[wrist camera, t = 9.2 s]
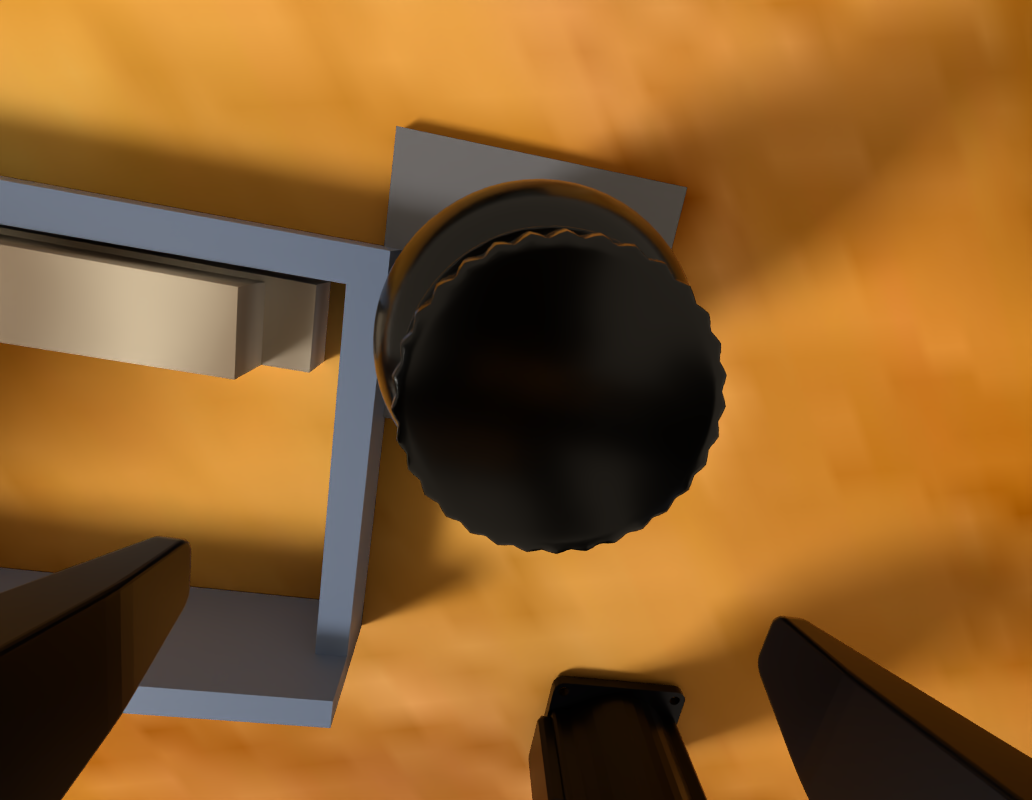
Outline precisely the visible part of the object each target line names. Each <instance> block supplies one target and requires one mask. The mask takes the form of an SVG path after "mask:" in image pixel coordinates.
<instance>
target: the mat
mask: <svg viewBox="0 0 1032 800" xmlns="http://www.w3.org/2000/svg"><path fill="white" fill-rule="evenodd" d="M523 179H552V180H561V181H567V182H573V183H577V184H581V185H584V186H588V187H591V188H594V189H596V190H599V191H601V192H603V193H606V194H608V195H610V196H612V197H614V198H616V199H617V200H619V201H621V202H623V203H624V204H626V205H627V206H629V207H630V208H632V209H633V210H634V211H636V212H637V213H638V214H639V215H641V216H642V217H643V218H644V219H645V220H646V221H648V222H649V223H650V224H651V225H652V226H653V228H654V229H655V230H656V231H657V232H658V233H659V234H660V235H661V236H662V238H663V239H664V240H665V242H666V243H667V244H668V245H669V247H670V248H671V249H672V245H673V241H674V237H675V233H676V230H677V226H678V222H679V218H680V214H681V210H682V206H683V202H684V198H685V194H686V190H687V187H683V186H678V185H673V184H668V183H664V182H659V181H654V180H650V179H645V178H640V177H635V176H631V175H626V174H621V173H616V172H612V171H607V170H602V169H597V168H593V167H588V166H583V165H578V164H574V163H569V162H564V161H559V160H555V159H550V158H545V157H541V156H536V155H531V154H526V153H522V152H517V151H512V150H507V149H503V148H498V147H493V146H488V145H484V144H479V143H474V142H469V141H465V140H460V139H455V138H450V137H446V136H441V135H436V134H432V133H427V132H422V131H417V130H413V129H408V128H403V127H398V126H396V136H395V145H394V155H393V165H392V175H391V184H390V194H389V204H388V214H387V223H386V233H385V243H384V247H389V248H394V249H400V250H403V249H404V247H405V246H406V244H407V243H408V242H409V241H410V240H411V238H412V237H413V236H414V235H415V234H416V232H417V231H418V230H419V229H420V228H421V227H422V226H424V225H425V224H426V223H427V222H428V221H429V220H430V219H431V218H432V217H434V216H435V215H436V214H437V213H439V212H440V211H441V210H443V209H444V208H446V207H447V206H449V205H450V204H452V203H454V202H455V201H457V200H459V199H461V198H463V197H465V196H467V195H469V194H471V193H473V192H475V191H478V190H481V189H483V188H486V187H489V186H492V185H496V184H500V183H504V182H510V181H516V180H523ZM401 252H402V251H401ZM383 417H384V418H391V419H392V417H391V416H390V414H389V411H388V409H387V407H386V405H385V403H384V412H383Z"/></svg>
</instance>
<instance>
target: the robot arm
mask: <svg viewBox="0 0 1032 800" xmlns="http://www.w3.org/2000/svg"><path fill="white" fill-rule="evenodd" d="M190 570H191V547H190V543H189V542H188V541H187V540H185V539H179V538H171V537H163V536H156V537H152V538H150V539H147V540H144V541H141V542H139V543H136V544H133V545H130V546H128V547H125V548H122V549H119V550H117V551H114V552H111V553H108V554H106V555H103V556H100V557H97V558H95V559H92V560H89V561H86V562H84V563H81V564H78V565H75V566H72V567H70V568H67V569H64V570H61V571H59V572H56V573H53V574H50V575H48V576H45V577H42V578H39V579H37V580H34V581H31V582H28V583H26V584H23V585H20V586H17V587H15V588H12V589H9V590H6V591H4V592H1V593H0V800H62V798H63V797H64V795H65V794H66V793H67V791H68V790H69V788H70V787H71V786H72V784H73V783H74V781H75V780H76V779H77V777H78V776H79V774H80V773H81V772H82V770H83V769H84V767H85V766H86V765H87V763H88V762H89V760H90V759H91V758H92V756H93V755H94V753H95V752H96V751H97V749H98V748H99V746H100V745H101V744H102V742H103V741H104V739H105V738H106V737H107V735H108V734H109V732H110V731H111V729H112V728H113V726H114V725H115V723H116V722H117V721H118V719H119V718H120V716H121V715H122V713H123V712H124V710H125V708H126V707H127V705H128V703H129V702H130V700H131V698H132V697H133V695H134V693H135V692H136V690H137V688H138V687H139V685H140V683H141V681H142V680H143V678H144V676H145V674H146V673H147V671H148V669H149V667H150V666H151V664H152V662H153V661H154V659H155V657H156V655H157V654H158V652H159V650H160V648H161V647H162V645H163V643H164V642H165V640H166V638H167V636H168V635H169V633H170V631H171V629H172V628H173V626H174V624H175V623H176V621H177V619H178V617H179V616H180V614H181V612H182V610H183V609H184V607H185V605H186V602H187V600H188V596H189V592H190ZM758 668H759V673H760V676H761V679H762V682H763V684H764V687H765V690H766V692H767V695H768V698H769V700H770V703H771V706H772V708H773V711H774V714H775V716H776V719H777V722H778V724H779V727H780V730H781V732H782V735H783V738H784V740H785V743H786V746H787V748H788V751H789V754H790V756H791V759H792V761H793V764H794V766H795V769H796V771H797V774H798V776H799V779H800V781H801V783H802V785H803V788H804V790H805V792H806V794H807V796H808V798H809V800H1032V758H1030V757H1029V756H1027V755H1025V754H1024V753H1022V752H1021V751H1019V750H1017V749H1016V748H1014V747H1012V746H1011V745H1009V744H1007V743H1006V742H1004V741H1003V740H1001V739H999V738H998V737H996V736H994V735H993V734H991V733H989V732H988V731H986V730H985V729H983V728H981V727H980V726H978V725H976V724H975V723H973V722H971V721H970V720H968V719H967V718H965V717H963V716H962V715H960V714H958V713H957V712H955V711H953V710H952V709H950V708H949V707H947V706H945V705H944V704H942V703H940V702H939V701H937V700H935V699H934V698H932V697H931V696H929V695H927V694H926V693H924V692H922V691H921V690H919V689H917V688H916V687H914V686H912V685H911V684H909V683H908V682H906V681H904V680H903V679H901V678H899V677H898V676H896V675H894V674H893V673H891V672H890V671H888V670H886V669H885V668H883V667H881V666H880V665H878V664H876V663H875V662H873V661H872V660H870V659H868V658H867V657H865V656H863V655H862V654H860V653H858V652H857V651H855V650H854V649H852V648H850V647H849V646H847V645H845V644H844V643H842V642H840V641H839V640H837V639H836V638H834V637H832V636H831V635H829V634H827V633H826V632H824V631H822V630H821V629H819V628H818V627H816V626H814V625H813V624H811V623H809V622H808V621H806V620H804V619H801V618H793V617H785V616H779V617H777V618H775V619H774V620H773V622H772V623H771V626H770V628H769V631H768V633H767V636H766V639H765V641H764V644H763V646H762V649H761V651H760V654H759V658H758ZM562 687H566V688H564V689H561V688H562ZM684 702H685V698H684V695H683V693H682V691H681V689H680V688H679V687H677V686H671V685H659V684H648V683H637V682H625V681H614V680H603V679H591V678H580V677H569V676H560V677H558V678H556V679H555V680H554V681H553V683H552V687H551V691H550V695H549V699H548V703H547V707H546V711H545V715H544V716H541V717H540V718H539V719H538V721H537V725H536V729H535V733H534V737H533V741H532V745H531V749H530V753H529V768H530V778H531V788H532V799H533V800H707V798H706V796H705V793H704V791H703V788H702V786H701V783H700V781H699V779H698V776H697V774H696V771H695V769H694V766H693V764H692V762H691V759H690V757H689V754H688V752H687V749H686V747H685V745H684V742H683V740H682V737H681V735H680V732H679V730H678V727H677V722H678V719H679V716H680V713H681V710H682V708H683V705H684Z"/></svg>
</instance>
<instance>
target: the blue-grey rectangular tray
mask: <svg viewBox="0 0 1032 800" xmlns="http://www.w3.org/2000/svg"><path fill="white" fill-rule="evenodd" d="M0 224H2V225H8V226H13V227H19V228H25V229H31V230H37V231H42V232H48V233H54V234H60V235H65V236H71V237H77V238H83V239H89V240H94V241H100V242H106V243H112V244H118V245H123V246H129V247H135V248H141V249H146V250H152V251H158V252H164V253H170V254H175V255H181V256H187V257H193V258H199V259H204V260H210V261H216V262H222V263H228V264H233V265H239V266H245V267H251V268H256V269H262V270H268V271H274V272H280V273H285V274H291V275H297V276H303V277H309V278H314V279H320V280H326V281H332V282H337V283H343V284H346V292H345V304H344V316H343V328H342V340H341V352H340V363H339V375H338V387H337V399H336V411H335V423H334V435H333V446H332V458H331V470H330V482H329V494H328V506H327V518H326V529H325V541H324V553H323V565H322V577H321V589H320V600H318V599H308V598H298V597H288V596H278V595H268V594H258V593H249V592H239V591H229V590H219V589H209V588H199V587H190V592H189V596H188V600H187V602H186V605H185V607H184V609H183V610H182V612H181V614H180V616H179V617H178V619H177V621H176V623H175V624H174V626H173V628H172V629H171V631H170V633H169V635H168V636H167V638H166V640H165V642H164V643H163V645H162V647H161V648H160V650H159V652H158V654H157V655H156V657H155V659H154V661H153V662H152V664H151V666H150V667H149V669H148V671H147V673H146V674H145V676H144V678H143V680H142V681H141V683H140V685H139V687H138V688H137V690H136V692H135V693H134V695H133V697H132V698H131V700H130V702H129V703H128V705H127V707H126V708H125V710H124V712H123V713H129V714H143V715H157V716H171V717H185V718H199V719H213V720H227V721H241V722H255V723H269V724H283V725H297V726H311V727H325V728H330V727H331V724H332V721H333V718H334V714H335V711H336V708H337V704H338V701H339V698H340V695H341V691H342V688H343V685H344V682H345V678H346V675H347V672H348V668H349V665H350V662H351V659H352V655H353V652H354V649H355V645H356V642H357V639H358V636H359V632H360V629H361V625H362V616H363V607H364V598H365V589H366V581H367V572H368V563H369V554H370V545H371V536H372V528H373V519H374V510H375V501H376V492H377V484H378V475H379V466H380V457H381V448H382V440H383V431H384V422H385V418H384V417H383V412H384V403H385V402H384V400H383V397H382V394H381V391H380V388H379V384H378V380H377V375H376V371H375V363H374V355H373V332H374V321H375V316H376V310H377V305H378V302H379V298H380V295H381V291H382V289H383V286H384V284H385V281H386V279H387V276H388V274H389V272H390V270H391V268H392V266H393V264H394V263H395V261H396V259H397V258H398V256H399V255H400V253H401V251H402V250H400V249H394V248H389V247H384V246H382V245H376V244H371V243H365V242H360V241H354V240H349V239H343V238H338V237H332V236H327V235H322V234H316V233H311V232H305V231H300V230H294V229H289V228H283V227H278V226H272V225H267V224H261V223H256V222H250V221H245V220H240V219H234V218H229V217H223V216H218V215H212V214H207V213H201V212H196V211H190V210H185V209H179V208H174V207H168V206H163V205H158V204H152V203H147V202H141V201H136V200H130V199H125V198H119V197H114V196H108V195H103V194H97V193H92V192H87V191H81V190H76V189H70V188H65V187H59V186H54V185H48V184H43V183H37V182H32V181H26V180H21V179H15V178H10V177H5V176H0ZM50 574H53V573H50V572H40V571H30V570H20V569H10V568H0V593H1V592H4V591H6V590H9V589H12V588H15V587H17V586H20V585H23V584H26V583H28V582H31V581H34V580H37V579H39V578H42V577H45V576H48V575H50Z"/></svg>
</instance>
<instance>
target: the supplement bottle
mask: <svg viewBox="0 0 1032 800" xmlns="http://www.w3.org/2000/svg"><path fill="white" fill-rule="evenodd" d="M710 323H711V322H710V316H709V313H708V312H707V311H705V310H704V309H703V308H702V307H701V306H699V305H697V304H696V301H695V297H694V294H693V292H692V289H691V287H690V286H689V284H688V281H687V278H686V276H685V274H684V271H683V269H682V267H681V265H680V263H679V261H678V260H677V258H676V256H675V255H674V253H673V251H672V250H671V248H670V247H669V245H668V244H667V243H666V242H665V240H664V239H663V238H662V236H661V235H660V234H659V233H658V232H657V231H656V230H655V229H654V228H653V226H652V225H651V224H650V223H649V222H648V221H646V220H645V219H644V218H643V217H642V216H641V215H639V214H638V213H637V212H636V211H634V210H633V209H632V208H630V207H629V206H627V205H626V204H624V203H623V202H621V201H619V200H617V199H616V198H614V197H612V196H610V195H608V194H606V193H603V192H601V191H599V190H596V189H594V188H591V187H588V186H584V185H581V184H577V183H573V182H567V181H561V180H552V179H523V180H516V181H510V182H504V183H500V184H496V185H492V186H489V187H486V188H483V189H481V190H478V191H475V192H473V193H471V194H469V195H467V196H465V197H463V198H461V199H459V200H457V201H455V202H454V203H452V204H450V205H449V206H447V207H446V208H444V209H443V210H441V211H440V212H439V213H437V214H436V215H435V216H434V217H432V218H431V219H430V220H429V221H428V222H427V223H426V224H425V225H424V226H422V227H421V228H420V229H419V230H418V231H417V232H416V234H415V235H414V236H413V237H412V238H411V240H410V241H409V242H408V243H407V244H406V246H405V247H404V249H403V250H402V252H401V253H400V255H399V256H398V258H397V259H396V261H395V263H394V264H393V266H392V268H391V270H390V272H389V274H388V276H387V279H386V281H385V284H384V286H383V289H382V291H381V295H380V298H379V302H378V305H377V310H376V316H375V321H374V332H373V355H374V363H375V371H376V375H377V380H378V384H379V388H380V391H381V394H382V397H383V400H384V402H385V405H386V407H387V409H388V411H389V414H390V416H391V417H392V419H393V421H394V423H395V424H396V426H397V428H398V429H397V437H396V440H397V442H398V443H399V445H400V446H401V448H402V449H403V450H404V451H405V452H406V454H407V466H408V470H409V471H410V472H411V473H412V474H413V475H414V476H416V477H417V478H418V479H419V480H420V481H421V485H422V489H423V492H424V495H426V496H427V497H429V498H430V499H432V500H433V501H435V502H437V503H439V505H440V507H441V509H442V511H443V513H444V514H445V516H446V517H449V518H451V519H454V520H457V521H460V522H461V523H462V524H463V525H464V527H465V528H466V529H467V530H468V531H469V532H470V533H473V534H477V535H484V536H487V537H488V538H489V539H490V540H491V541H493V542H494V543H496V544H497V545H514V546H516V547H517V548H519V549H521V550H524V551H526V552H530V551H537V550H545V551H548V552H551V553H555V554H557V553H561V552H564V551H566V550H570V549H574V550H581V551H587V550H589V549H591V548H593V547H594V546H596V545H598V544H601V543H615V542H617V541H618V540H619V539H621V538H622V537H623V536H624V535H625V534H627V533H629V532H633V531H638V530H641V529H643V528H644V527H645V526H646V525H647V524H648V523H649V521H650V520H651V519H652V518H653V517H656V516H658V515H661V514H663V513H665V512H667V511H668V509H669V508H670V506H671V505H672V503H673V501H674V499H675V498H677V497H678V496H680V495H682V494H683V493H685V492H686V491H688V490H689V487H690V485H691V483H692V480H693V477H694V475H695V474H696V473H697V472H699V471H700V470H701V469H702V468H703V467H704V466H705V465H706V462H707V458H708V450H709V449H710V447H711V446H712V445H713V444H714V442H715V441H716V440H717V438H718V437H719V426H718V421H719V419H720V417H721V415H722V413H723V411H724V409H725V407H726V406H725V400H724V397H723V393H722V389H723V386H724V384H725V380H726V376H727V375H726V372H725V370H724V368H723V366H722V364H721V363H720V354H721V343H720V341H719V340H718V339H717V337H716V336H715V335H714V334H713V333H712V332H711V327H710Z"/></svg>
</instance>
